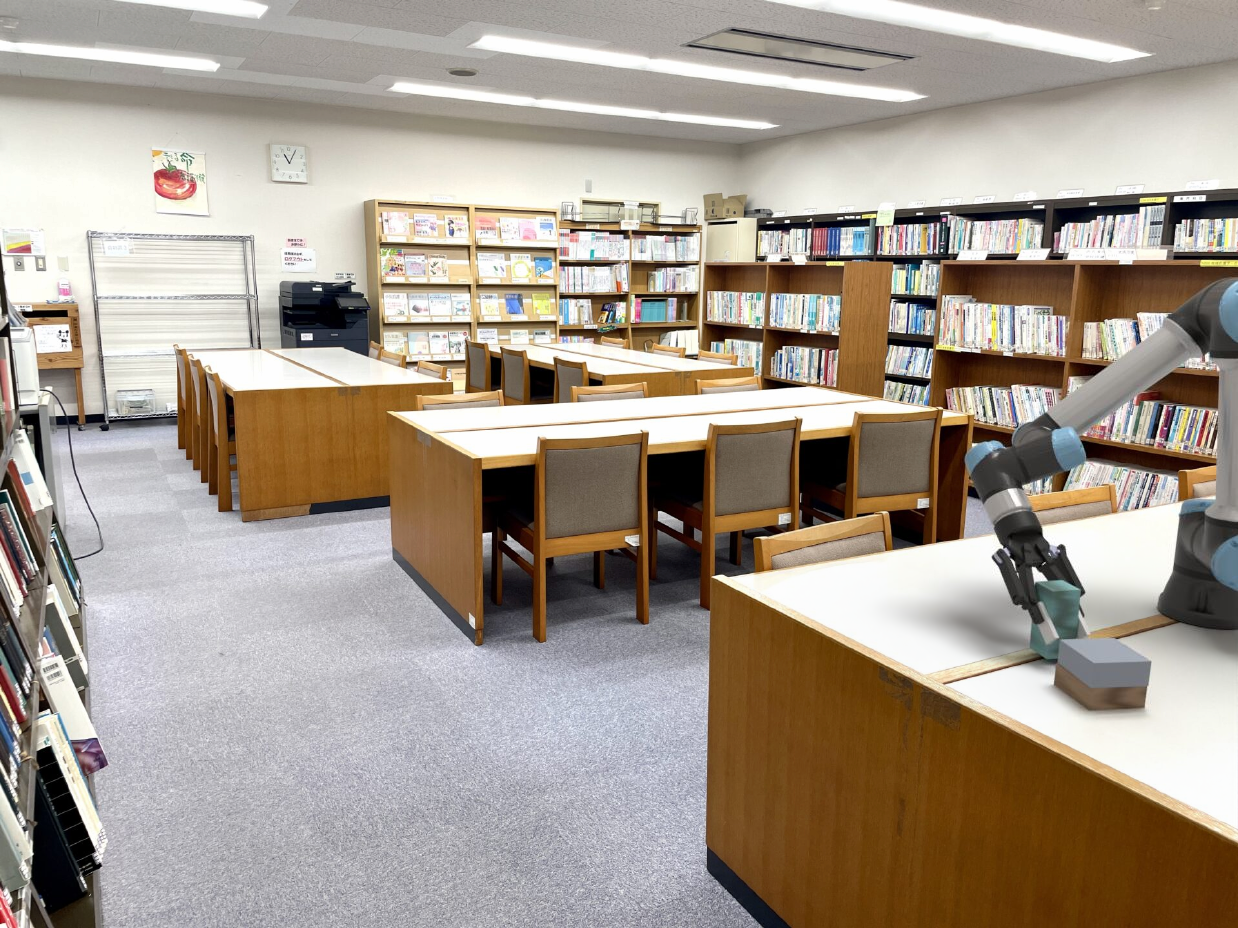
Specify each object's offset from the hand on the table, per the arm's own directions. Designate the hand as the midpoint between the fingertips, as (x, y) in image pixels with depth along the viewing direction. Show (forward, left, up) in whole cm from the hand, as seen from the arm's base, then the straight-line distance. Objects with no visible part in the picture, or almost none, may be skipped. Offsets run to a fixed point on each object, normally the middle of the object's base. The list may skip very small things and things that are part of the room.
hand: (1068, 639), depth 147 cm
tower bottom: (+1, +10, -5) cm, 12 cm away
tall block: (0, -4, -4) cm, 5 cm away
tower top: (+1, +11, -1) cm, 11 cm away
